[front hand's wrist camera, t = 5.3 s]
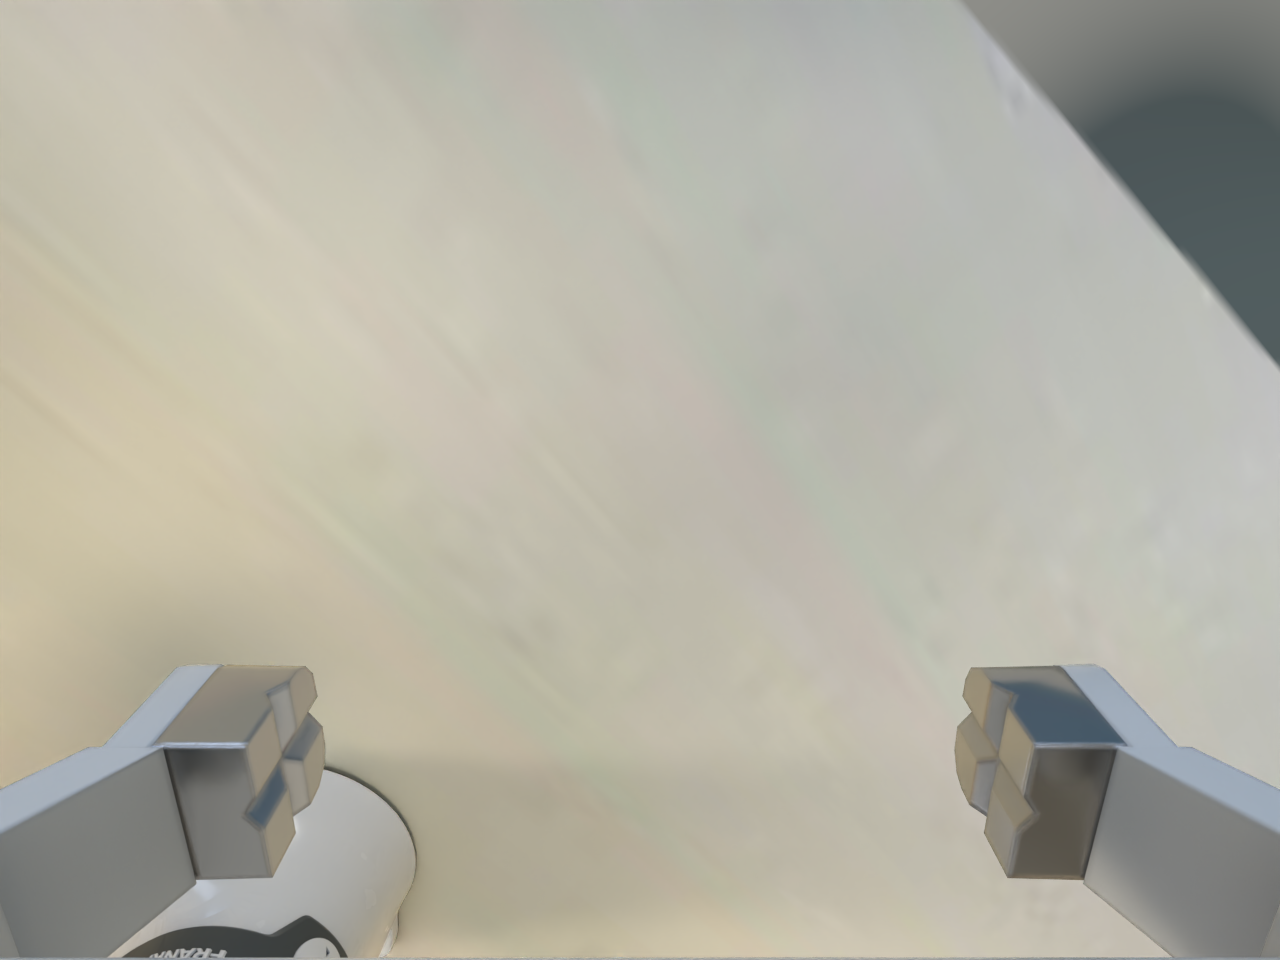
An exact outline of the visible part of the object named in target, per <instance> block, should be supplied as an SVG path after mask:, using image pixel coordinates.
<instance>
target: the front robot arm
mask: <svg viewBox="0 0 1280 960" xmlns="http://www.w3.org/2000/svg"><path fill="white" fill-rule="evenodd" d="M316 698H317V691H316V686H315V681H314V677H313V673H312V672H311V671H310V670H309V669H308V668H307V667H306V666H267V665H222V664H203V665H184V666H181V667H177V668H176V669H175V670H174V671H173V672H172V673H171V674H170V675H169V676H168V677H167V678H166V679H165V680H164V681H163V682H162V684H161V685H160V686H159V687H158V688H157V689H156V690H155V691H154V692H153V693H152V694H151V695H150V696H149V697H148V699H147V700H146V701H145V702H144V703H143V704H142V705H141V706H140V707H139V708H138V709H137V710H136V711H135V712H134V714H133V715H132V716H131V717H130V718H129V719H128V720H127V721H126V722H125V723H124V724H123V725H122V726H121V727H120V728H119V730H118V731H117V732H116V733H115V734H114V735H113V736H112V737H111V738H110V739H109V740H108V741H107V742H106V743H105V745H104V746H103V747H88V748H86V749H84V750H82V751H79V752H77V753H75V754H73V755H71V756H69V757H67V758H65V759H63V760H61V761H59V762H57V763H54V764H52V765H50V766H48V767H46V768H44V769H42V770H40V771H38V772H36V773H34V774H31V775H29V776H27V777H25V778H23V779H21V780H19V781H17V782H15V783H13V784H11V785H9V786H6V787H4V788H2V789H0V960H1280V789H1277V788H1275V787H1273V786H1271V785H1269V784H1267V783H1265V782H1263V781H1261V780H1259V779H1257V778H1255V777H1253V776H1250V775H1248V774H1246V773H1244V772H1242V771H1240V770H1238V769H1236V768H1234V767H1232V766H1230V765H1228V764H1225V763H1223V762H1221V761H1219V760H1217V759H1215V758H1213V757H1211V756H1209V755H1207V754H1205V753H1203V752H1201V751H1198V750H1196V749H1194V748H1192V747H1177V746H1176V744H1175V743H1174V742H1173V741H1172V740H1171V739H1170V738H1169V737H1168V736H1167V735H1166V734H1165V733H1164V732H1163V731H1162V729H1161V728H1160V727H1159V726H1158V725H1157V724H1156V723H1155V722H1154V721H1153V720H1152V719H1151V718H1150V717H1149V716H1148V714H1147V713H1146V712H1145V711H1144V710H1143V709H1142V708H1141V707H1140V706H1139V705H1138V704H1137V703H1136V702H1135V701H1134V700H1133V698H1132V697H1131V696H1130V695H1129V694H1128V693H1127V692H1126V691H1125V690H1124V689H1123V688H1122V687H1121V686H1120V685H1119V683H1118V682H1117V681H1116V680H1115V679H1114V678H1113V677H1112V676H1111V675H1110V674H1109V673H1108V672H1107V671H1106V670H1105V669H1104V668H1102V667H1100V666H1098V665H1095V664H1077V665H1053V666H1023V667H974V668H971V669H970V671H969V673H968V675H967V677H966V679H965V685H964V690H963V698H964V700H965V701H966V703H967V705H968V706H969V708H970V710H971V711H972V712H971V713H970V714H969V715H968V716H967V717H966V718H965V719H964V720H963V721H962V722H961V723H960V724H959V725H958V726H957V734H956V742H955V760H956V771H957V775H958V778H959V782H960V785H961V789H962V791H963V793H964V795H965V797H966V799H967V801H968V803H969V805H971V806H972V807H973V808H975V809H976V810H978V811H979V812H981V813H982V814H984V815H985V816H986V817H987V819H986V824H985V830H984V834H985V836H986V838H987V840H988V842H989V844H990V845H991V847H992V849H993V851H994V853H995V855H996V857H997V859H998V861H999V863H1000V864H1001V866H1002V868H1003V870H1004V872H1005V874H1006V876H1007V878H1029V879H1064V880H1084V882H1083V884H1084V885H1086V886H1087V887H1088V888H1089V889H1090V890H1092V891H1093V892H1094V893H1095V894H1097V895H1098V896H1099V897H1100V898H1101V899H1103V900H1104V901H1105V902H1106V903H1107V904H1109V905H1110V906H1111V907H1112V908H1114V909H1115V910H1116V911H1117V912H1118V913H1120V914H1121V915H1122V916H1123V917H1125V918H1126V919H1127V920H1128V921H1129V922H1131V923H1132V924H1133V925H1134V926H1135V927H1137V928H1138V929H1139V930H1140V931H1142V932H1143V933H1144V934H1145V935H1146V936H1148V937H1149V938H1150V939H1151V940H1153V941H1154V942H1155V943H1156V944H1157V945H1159V946H1160V947H1161V948H1162V949H1163V950H1165V951H1166V952H1167V953H1168V954H1170V955H1171V956H1172V957H1165V958H863V957H727V958H381V957H384V956H386V955H387V954H389V953H390V951H391V949H392V947H393V945H394V943H395V940H396V938H397V934H398V910H399V908H400V906H401V905H402V903H403V901H404V899H405V897H406V896H407V894H408V892H409V890H410V888H411V885H412V883H413V879H414V876H415V869H416V856H415V850H414V846H413V842H412V839H411V837H410V834H409V832H408V830H407V828H406V826H405V825H404V823H403V822H402V820H401V819H400V817H399V816H398V815H397V813H396V812H395V811H394V810H393V809H392V808H391V807H390V806H389V805H388V804H387V803H386V802H385V801H384V800H383V799H382V798H381V797H379V796H378V795H377V794H375V793H374V792H373V791H371V790H370V789H368V788H367V787H365V786H363V785H362V784H360V783H358V782H356V781H354V780H352V779H350V778H347V777H345V776H343V775H340V774H337V773H334V772H331V771H328V770H324V764H325V740H324V733H323V726H322V725H321V724H320V723H319V722H318V721H317V720H316V719H315V718H314V717H313V716H312V715H311V714H310V713H309V712H308V711H309V710H310V708H311V706H312V705H313V703H314V701H315V700H316Z"/></svg>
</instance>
